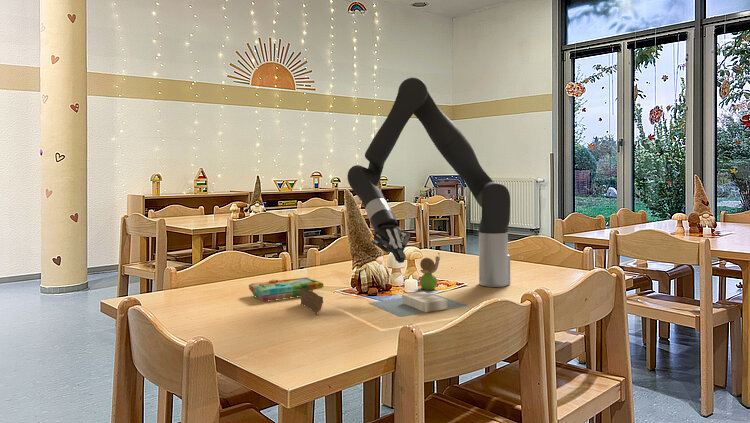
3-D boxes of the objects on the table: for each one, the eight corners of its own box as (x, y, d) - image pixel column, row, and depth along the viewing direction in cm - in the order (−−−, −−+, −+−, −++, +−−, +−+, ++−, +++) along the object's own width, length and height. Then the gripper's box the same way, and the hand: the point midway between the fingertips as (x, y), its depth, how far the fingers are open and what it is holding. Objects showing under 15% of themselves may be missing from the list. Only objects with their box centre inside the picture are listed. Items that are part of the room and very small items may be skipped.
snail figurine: (439, 292, 178) (439, 254, 177) (418, 292, 180) (418, 253, 179) (441, 288, 184) (440, 251, 183) (421, 288, 185) (420, 251, 184)
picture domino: (422, 291, 166) (447, 299, 155) (423, 300, 166) (447, 309, 155) (401, 294, 162) (425, 303, 152) (402, 303, 163) (425, 313, 152)
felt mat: (432, 295, 175) (432, 293, 175) (469, 307, 159) (468, 305, 159) (368, 304, 165) (368, 302, 165) (400, 318, 149) (400, 316, 149)
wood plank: (296, 304, 167) (295, 287, 166) (303, 303, 168) (302, 286, 167) (317, 316, 153) (316, 297, 153) (324, 315, 154) (323, 296, 154)
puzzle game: (248, 281, 179) (308, 274, 189) (249, 296, 180) (308, 288, 190) (261, 288, 169) (323, 280, 179) (261, 304, 170) (323, 295, 179)
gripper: (365, 209, 172) (386, 255, 162) (403, 207, 179) (426, 251, 169) (358, 225, 177) (378, 271, 168) (395, 222, 184) (416, 266, 174)
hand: (402, 261), depth 168 cm, fingers closed
